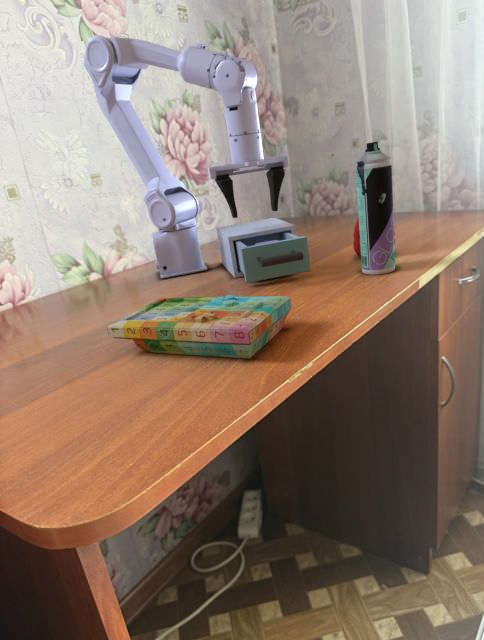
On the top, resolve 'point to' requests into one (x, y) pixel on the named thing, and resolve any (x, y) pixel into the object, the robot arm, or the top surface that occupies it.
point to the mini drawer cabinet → (246, 231)
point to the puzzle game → (205, 325)
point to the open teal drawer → (271, 256)
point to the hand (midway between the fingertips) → (255, 214)
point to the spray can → (375, 211)
